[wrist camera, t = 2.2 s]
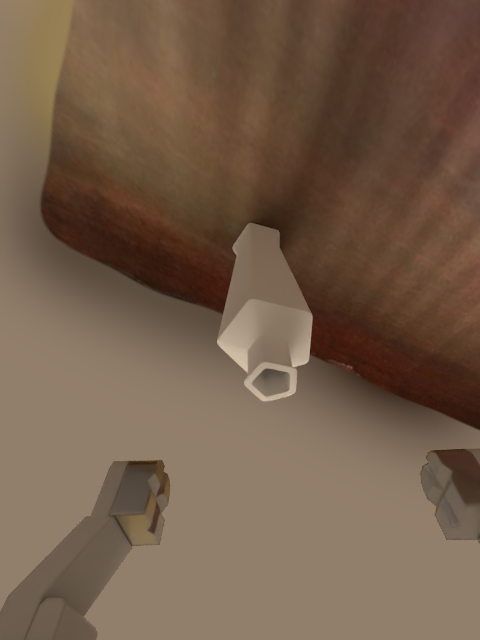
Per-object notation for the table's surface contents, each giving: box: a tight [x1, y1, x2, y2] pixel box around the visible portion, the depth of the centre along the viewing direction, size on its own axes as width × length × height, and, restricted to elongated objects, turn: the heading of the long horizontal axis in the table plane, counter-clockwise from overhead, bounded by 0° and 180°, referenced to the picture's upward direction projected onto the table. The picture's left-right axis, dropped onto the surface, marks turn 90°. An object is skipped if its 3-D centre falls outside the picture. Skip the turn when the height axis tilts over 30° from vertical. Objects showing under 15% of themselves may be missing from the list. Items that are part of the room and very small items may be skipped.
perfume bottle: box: [217, 223, 313, 401], centre depth 19 cm, size 5×4×15 cm
